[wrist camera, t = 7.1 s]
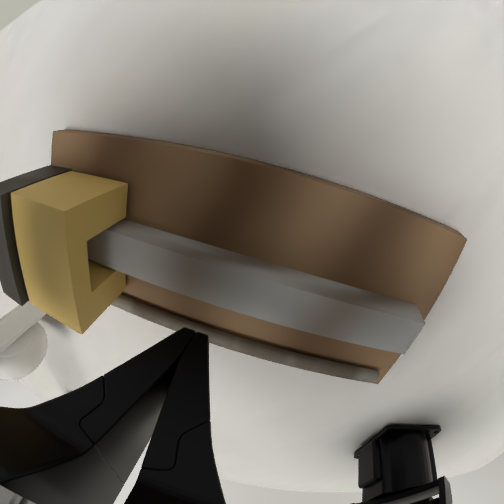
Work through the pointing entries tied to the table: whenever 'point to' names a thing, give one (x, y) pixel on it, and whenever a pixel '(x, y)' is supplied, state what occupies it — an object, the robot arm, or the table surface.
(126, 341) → the table surface
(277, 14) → the table surface
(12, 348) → the headset
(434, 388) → the table surface
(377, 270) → the rail board
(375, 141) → the table surface
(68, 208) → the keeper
